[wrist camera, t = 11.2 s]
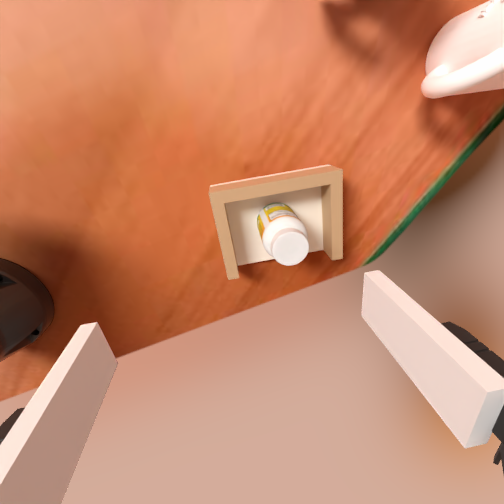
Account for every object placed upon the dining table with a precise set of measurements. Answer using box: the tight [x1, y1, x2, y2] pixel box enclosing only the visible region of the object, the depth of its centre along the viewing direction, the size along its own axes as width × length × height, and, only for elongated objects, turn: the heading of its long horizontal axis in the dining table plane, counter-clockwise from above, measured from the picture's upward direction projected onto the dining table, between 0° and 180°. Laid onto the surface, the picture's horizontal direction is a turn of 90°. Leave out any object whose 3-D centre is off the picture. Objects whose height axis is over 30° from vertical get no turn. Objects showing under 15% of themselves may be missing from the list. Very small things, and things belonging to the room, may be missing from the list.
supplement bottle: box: [257, 202, 309, 266], centre depth 32 cm, size 5×5×10 cm
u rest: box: [209, 164, 343, 280], centre depth 36 cm, size 16×12×4 cm
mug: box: [421, 0, 504, 99], centre depth 26 cm, size 8×12×12 cm
